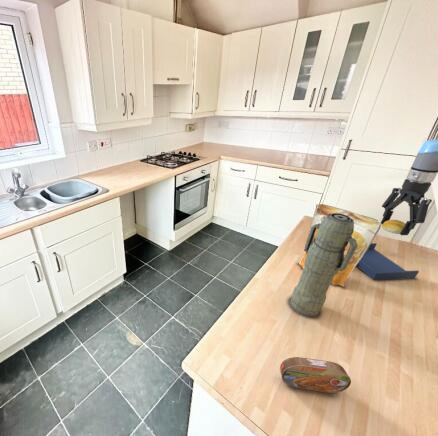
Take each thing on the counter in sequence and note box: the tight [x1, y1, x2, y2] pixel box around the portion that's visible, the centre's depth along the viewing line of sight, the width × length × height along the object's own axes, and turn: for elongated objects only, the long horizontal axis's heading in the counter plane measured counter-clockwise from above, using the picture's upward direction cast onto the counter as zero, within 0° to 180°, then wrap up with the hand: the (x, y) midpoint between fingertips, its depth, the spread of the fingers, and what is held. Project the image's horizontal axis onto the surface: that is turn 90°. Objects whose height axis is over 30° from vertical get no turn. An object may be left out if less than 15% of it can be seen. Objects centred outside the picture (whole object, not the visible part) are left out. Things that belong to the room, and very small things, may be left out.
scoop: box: [356, 242, 420, 281], centre depth 101 cm, size 26×19×4 cm
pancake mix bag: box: [298, 203, 382, 288], centre depth 91 cm, size 7×19×28 cm, turn 34°
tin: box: [279, 356, 352, 394], centre depth 60 cm, size 15×3×8 cm, turn 80°
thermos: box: [289, 213, 358, 318], centre depth 75 cm, size 9×12×35 cm
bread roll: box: [381, 219, 406, 235], centre depth 106 cm, size 8×9×4 cm
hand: (393, 229), depth 107 cm, fingers closed on bread roll, 9 cm apart
